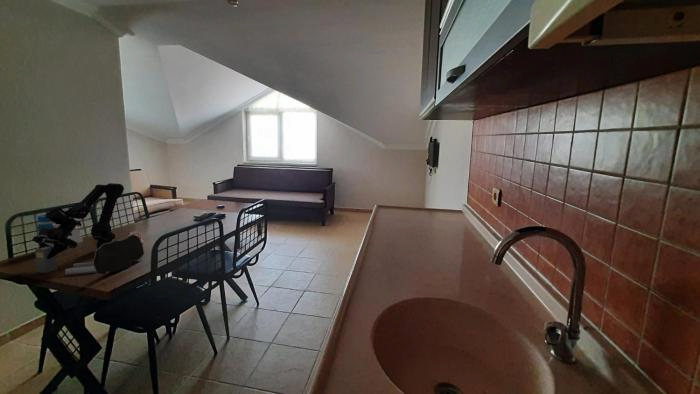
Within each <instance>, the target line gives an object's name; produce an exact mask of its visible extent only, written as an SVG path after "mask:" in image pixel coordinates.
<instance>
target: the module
mask: <svg viewBox="0 0 700 394" xmlns="http://www.w3.org/2000/svg"><path fill="white" fill-rule="evenodd" d="M52 249H53V247H49V246H46V247H42V248H39V247H38V248H36V249H34V254H35V261H36V268H37V269H36V270H37V273H42V274H44V273H45V274H47V273H49V272H52V271H56V270H58V261H57V255H55V256H54V257H52V258H50V259H47V256H48V255H49V253H50V252H51V250H52Z"/></svg>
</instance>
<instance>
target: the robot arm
mask: <svg viewBox="0 0 700 394" xmlns="http://www.w3.org/2000/svg"><path fill="white" fill-rule="evenodd" d="M124 190H125V187H124V185H123V184H122V183H112V182H109V183H108V184H96V185H95V186H94V188H92V190H91V191H89V193H88V194H87V195H86V196H85V197H83V199H82V200H81V201H80V202H78V203H76V204H73V205H72V206H70V208H68V209H67V210H63V208H62V207H60V206H59V207H58V206H56V207H55V208H53V209H51V210H49V211H47V212H46V213H45V214H44V215H45V217H46V218H47V219H49V220H50V221H52V222H53V223H55V224H57V226H58V228H52V229H44V228H41V229H40V232H39V234H38V235H46V237H47V238H46V237H44V236H38V235H35V236H33V238H32V239H31V241H33V242H35V243H37V244H38V246H39V245H40V248H42V247H46V246H49V247H51V246H50V244H51V243H52V244H53V245H54V247H53V249H52V250H51V252H50V253H49V255H48V256H47V259H50V258H52V257H54V256H55V255H56V256H57V255H58V254H61V253H62V252H65V251H66V250H69V249H76V248H77V246H78V243H77V242H75V241H73V240H72V239H70V238H68V236H72V234H71V232H72V231H73V229H74V230H75V228H76V227H81V226H82V223H81V220H83V219H86V218H87V217H88V215H89V214H90V212H91V208H92V206H94V204H95V203H96V202H97V201H99V199H100V198H101V197H102V196H103V194H105V197H106V198H105V201H104V204H103V207H102V209H101V213H100V216H99V220H98V222H96V223H93V224H92V225H91V229H90V230H89V231H90V235H91V237H93V239H94V240H95V241H96V250H97V249H98V248H100V247H101V246H102V245H103V244H104V243H110V242H112V240H113V241H114V240H115V239H116V234H114V233H113V232H112V226H111V223H110V222H111V220H112V216H113V213H114V211H115V207H116V203H117V200H118V199H119V198H120V197H121V196H122V195H123V192H124ZM48 238H50V239H48ZM53 241H54V242H53Z"/></svg>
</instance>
